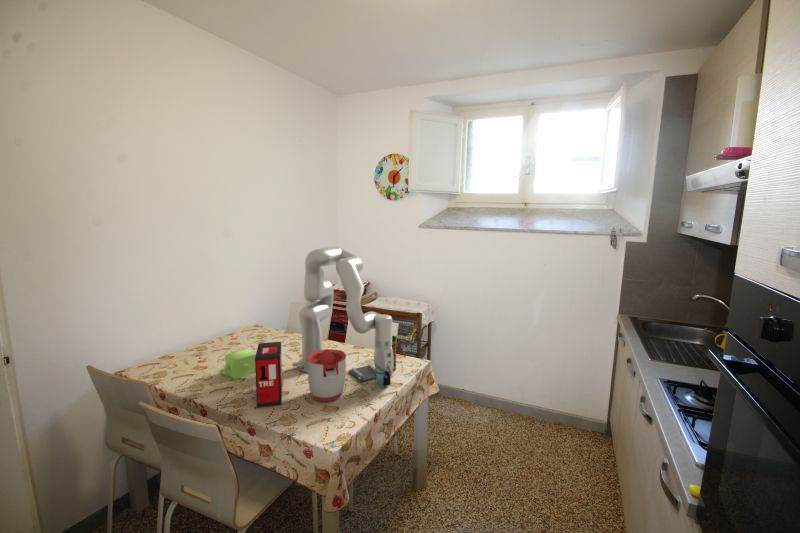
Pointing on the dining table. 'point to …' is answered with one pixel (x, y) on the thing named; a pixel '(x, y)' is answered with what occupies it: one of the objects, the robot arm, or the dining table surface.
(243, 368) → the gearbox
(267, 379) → the cleaning product box
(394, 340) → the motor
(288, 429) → the dining table surface
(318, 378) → the citrus juicer
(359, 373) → the mount plate
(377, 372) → the blue lidded jar
